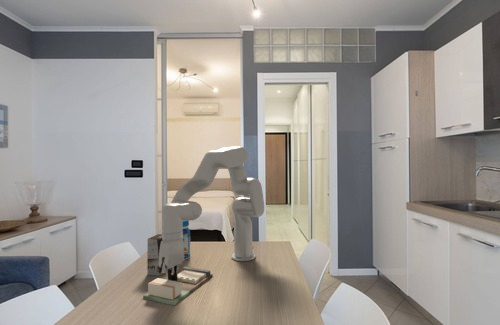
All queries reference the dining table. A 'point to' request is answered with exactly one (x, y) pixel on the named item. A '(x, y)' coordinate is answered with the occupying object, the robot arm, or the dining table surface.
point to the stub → (164, 288)
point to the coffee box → (154, 255)
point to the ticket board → (185, 284)
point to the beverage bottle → (186, 239)
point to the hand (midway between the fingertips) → (172, 283)
